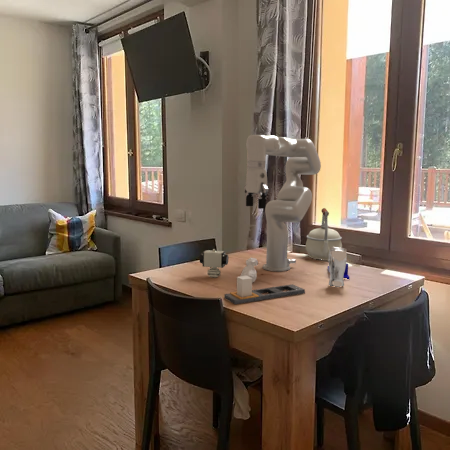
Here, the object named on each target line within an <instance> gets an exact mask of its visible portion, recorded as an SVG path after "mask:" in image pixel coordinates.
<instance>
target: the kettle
mask: <svg viewBox="0 0 450 450" xmlns="http://www.w3.org/2000/svg"><path fill="white" fill-rule="evenodd" d="M321 213H322V218H321V225H320V227H317V228H314V229H312V230H310V231H309V233H308V234H307V235H306V238H307V239H306V242H305V251H306V253H308V255H309V258H310V257H311V259H312V258H314V259H313V260H316V259H322V260H321V261H329V250H330V248H334V247H338V248H343V244H342V239H343V237H342V236H341V235H340V233H339V232H338V231H337V230H336V229H332V228H329V225H328V222H329V221H328V218H329V217H328V216H330V212H329V211H328V210H327V208H325V207H324V208H322V209H321Z"/></svg>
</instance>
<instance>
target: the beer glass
mask: <svg viewBox="0 0 450 450" xmlns="http://www.w3.org/2000/svg"><path fill="white" fill-rule="evenodd" d="M347 255H348V254H347V248H344V247H342V248H338V247H334V248H330V250H329V260H328V266H329V271H330V274H329V282H328V286H329V285H330V286H329V287H331V286H335V287H340V286H344V287H345V283H344V281H345V280H343V277H344V272H345V267H346V264H347ZM329 271H328V272H329ZM335 287H334V288H335Z"/></svg>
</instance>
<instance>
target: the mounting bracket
mask: <svg viewBox="0 0 450 450" xmlns="http://www.w3.org/2000/svg"><path fill="white" fill-rule="evenodd" d="M327 271H328V273H330V271H329V265H327ZM343 278H347V279H349V280H350V275H349V264H348V263H346V267H345V272H344V277H343Z"/></svg>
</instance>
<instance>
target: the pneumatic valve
mask: <svg viewBox="0 0 450 450" xmlns="http://www.w3.org/2000/svg"><path fill="white" fill-rule="evenodd" d="M198 259H199V263H200V264H201V265H202V267H203V268H204V267H206V268H209V269H207V276H208V277H209V278H218V277H220V276H221V270H220V269H222V268H224V267H226V266H227V265H229V254H226V251H225V250H216V249H215V248H213V249H212V250H209V249H208V250H207V249H205V250H204V251H202V252H201V253H200V254H199V258H198Z"/></svg>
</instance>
